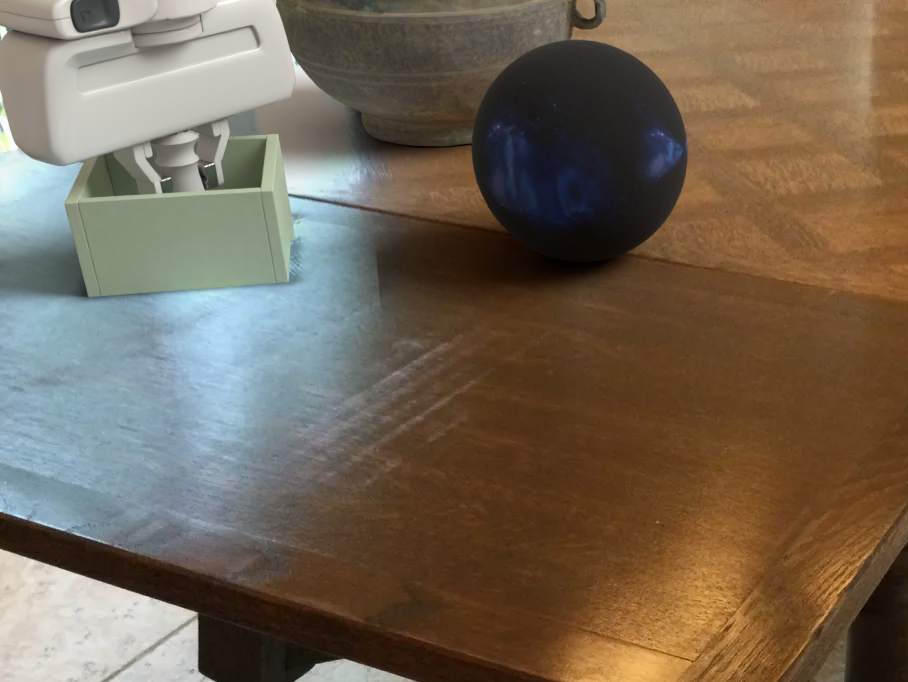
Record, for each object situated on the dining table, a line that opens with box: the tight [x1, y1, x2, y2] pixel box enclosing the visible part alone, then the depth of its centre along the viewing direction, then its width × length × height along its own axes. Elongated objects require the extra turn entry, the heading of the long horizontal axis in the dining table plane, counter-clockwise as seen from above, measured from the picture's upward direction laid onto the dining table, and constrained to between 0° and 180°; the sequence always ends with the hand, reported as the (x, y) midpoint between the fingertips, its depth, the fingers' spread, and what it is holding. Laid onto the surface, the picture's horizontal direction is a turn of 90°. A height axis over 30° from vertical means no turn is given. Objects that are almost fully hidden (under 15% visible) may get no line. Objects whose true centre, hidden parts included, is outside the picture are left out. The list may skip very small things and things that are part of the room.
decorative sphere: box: [471, 39, 689, 263], centre depth 95 cm, size 15×15×15 cm
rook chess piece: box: [150, 128, 205, 193], centre depth 91 cm, size 4×4×8 cm
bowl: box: [275, 0, 608, 147], centre depth 121 cm, size 32×26×15 cm
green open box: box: [64, 133, 296, 298], centre depth 93 cm, size 13×13×8 cm
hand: (183, 195), depth 92 cm, fingers closed on rook chess piece, 3 cm apart
